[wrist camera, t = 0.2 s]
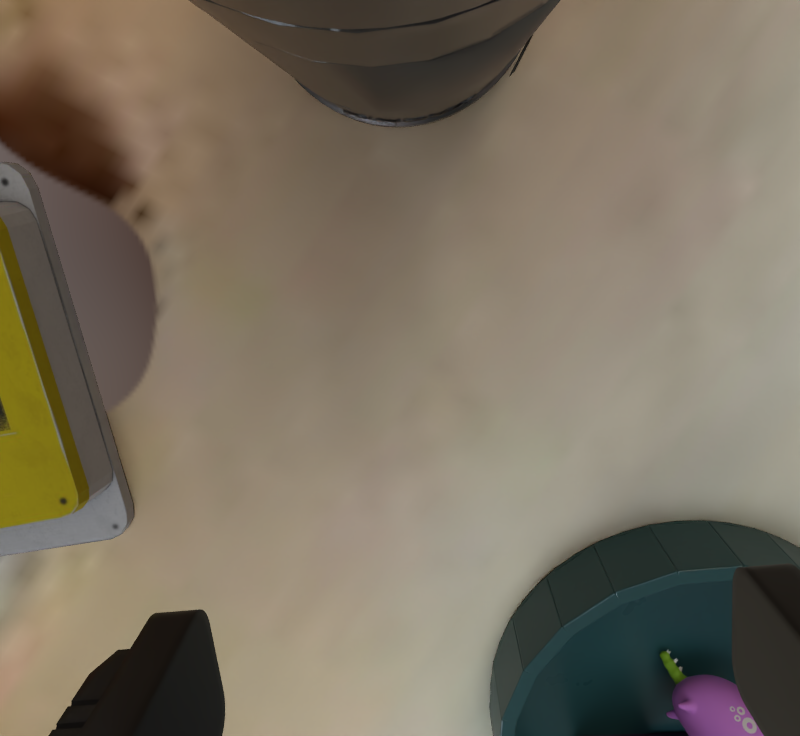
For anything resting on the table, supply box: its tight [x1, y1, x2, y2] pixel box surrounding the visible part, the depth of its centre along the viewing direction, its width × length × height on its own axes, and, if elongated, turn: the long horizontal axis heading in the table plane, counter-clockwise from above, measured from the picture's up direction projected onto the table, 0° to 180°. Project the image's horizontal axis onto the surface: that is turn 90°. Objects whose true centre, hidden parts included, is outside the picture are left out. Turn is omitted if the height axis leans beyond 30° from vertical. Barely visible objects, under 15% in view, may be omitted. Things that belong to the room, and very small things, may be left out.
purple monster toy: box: [584, 650, 764, 736], centre depth 28 cm, size 7×5×9 cm
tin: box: [490, 521, 800, 736], centre depth 29 cm, size 16×16×4 cm
